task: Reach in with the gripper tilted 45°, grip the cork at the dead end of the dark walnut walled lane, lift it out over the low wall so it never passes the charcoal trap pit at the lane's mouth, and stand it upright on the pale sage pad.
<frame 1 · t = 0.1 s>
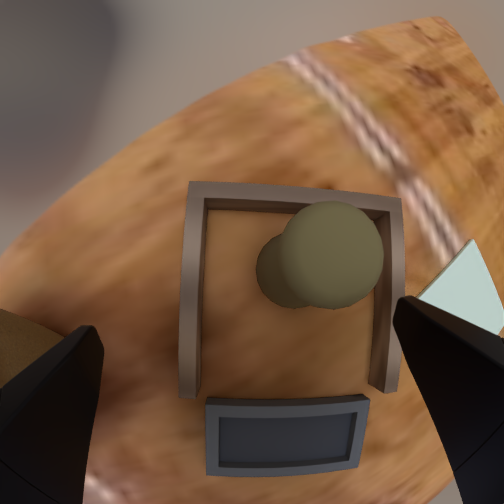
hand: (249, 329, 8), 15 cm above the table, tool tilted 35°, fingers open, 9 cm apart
sage pad: (463, 315, 23), on the table
plant pot: (55, 370, 21), on the table
trap pit: (285, 435, 21), on the table
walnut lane: (294, 269, 23), on the table
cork: (294, 270, 23), resting in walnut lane
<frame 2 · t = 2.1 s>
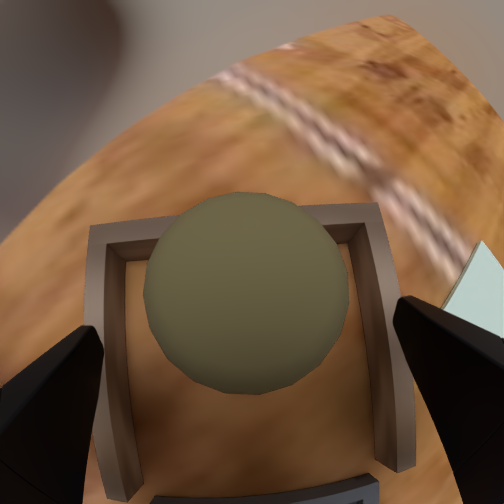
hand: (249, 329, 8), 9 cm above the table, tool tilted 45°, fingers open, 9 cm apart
sage pad: (489, 339, 16), on the table
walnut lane: (244, 327, 16), on the table
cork: (244, 327, 16), resting in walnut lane
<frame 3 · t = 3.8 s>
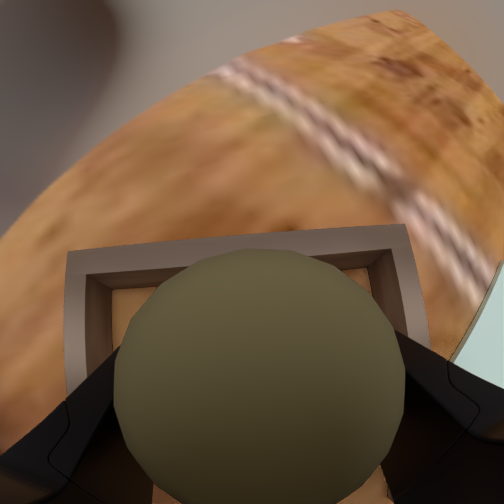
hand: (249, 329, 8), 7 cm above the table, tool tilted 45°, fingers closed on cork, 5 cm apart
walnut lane: (248, 368, 14), on the table
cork: (248, 368, 14), resting in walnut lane, touching gripper
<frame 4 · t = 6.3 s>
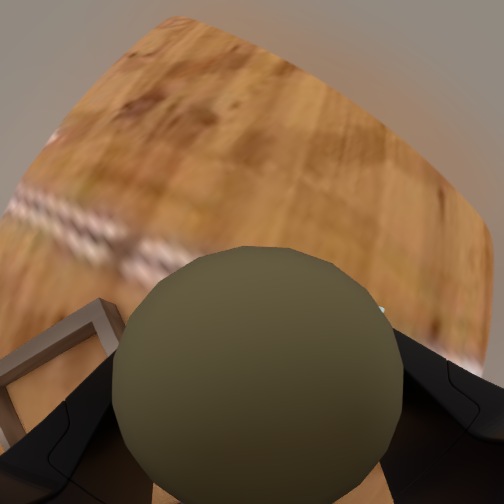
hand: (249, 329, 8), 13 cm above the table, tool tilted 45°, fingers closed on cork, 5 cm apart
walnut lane: (70, 410, 18), on the table
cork: (248, 367, 14), point 6 cm above the table, touching gripper
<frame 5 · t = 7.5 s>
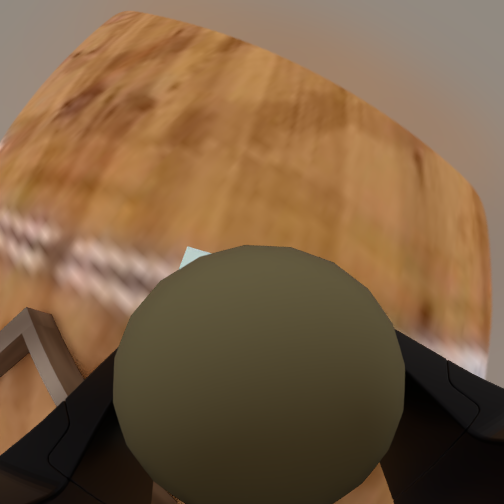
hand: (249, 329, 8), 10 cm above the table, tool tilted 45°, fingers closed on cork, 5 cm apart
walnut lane: (23, 429, 14), on the table
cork: (248, 367, 14), point 3 cm above the table, touching gripper
when the fingers open (8 cm above the table, at t = 8.6 s): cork stays where it is, resting on sage pad.
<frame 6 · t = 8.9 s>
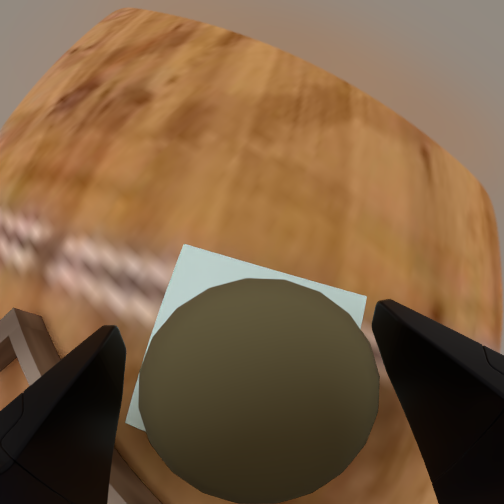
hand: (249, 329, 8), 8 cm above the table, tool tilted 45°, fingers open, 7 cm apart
sage pad: (248, 366, 15), on the table
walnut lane: (13, 436, 12), on the table
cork: (248, 370, 15), resting on sage pad
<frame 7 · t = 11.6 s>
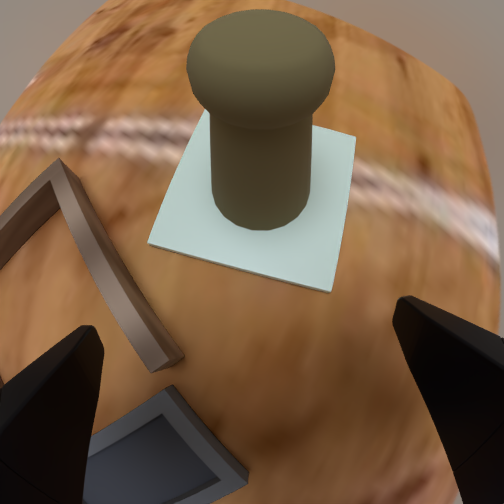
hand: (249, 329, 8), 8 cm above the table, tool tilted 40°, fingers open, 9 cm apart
sage pad: (260, 186, 18), on the table
trap pit: (134, 474, 13), on the table
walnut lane: (29, 300, 17), on the table
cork: (260, 186, 18), resting on sage pad
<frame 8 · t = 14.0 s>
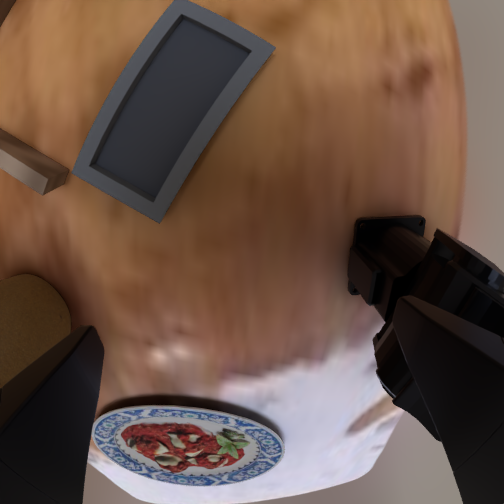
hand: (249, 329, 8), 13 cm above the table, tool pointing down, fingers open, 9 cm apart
plant pot: (40, 308, 22), on the table
trap pit: (168, 106, 16), on the table
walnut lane: (25, 41, 12), on the table
ceramic plate: (187, 443, 33), on the table
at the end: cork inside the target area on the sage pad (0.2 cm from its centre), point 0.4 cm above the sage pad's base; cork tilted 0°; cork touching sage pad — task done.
